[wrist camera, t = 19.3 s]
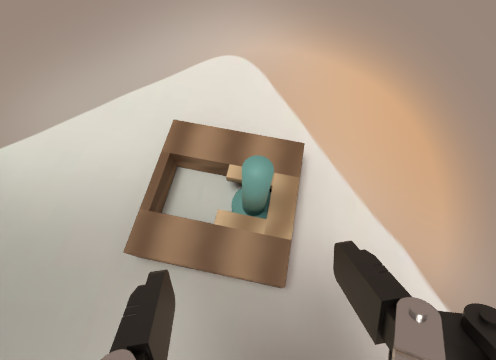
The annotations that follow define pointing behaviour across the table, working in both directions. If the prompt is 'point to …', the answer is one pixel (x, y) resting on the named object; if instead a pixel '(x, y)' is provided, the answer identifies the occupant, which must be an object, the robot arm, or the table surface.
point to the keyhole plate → (226, 223)
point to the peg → (254, 187)
